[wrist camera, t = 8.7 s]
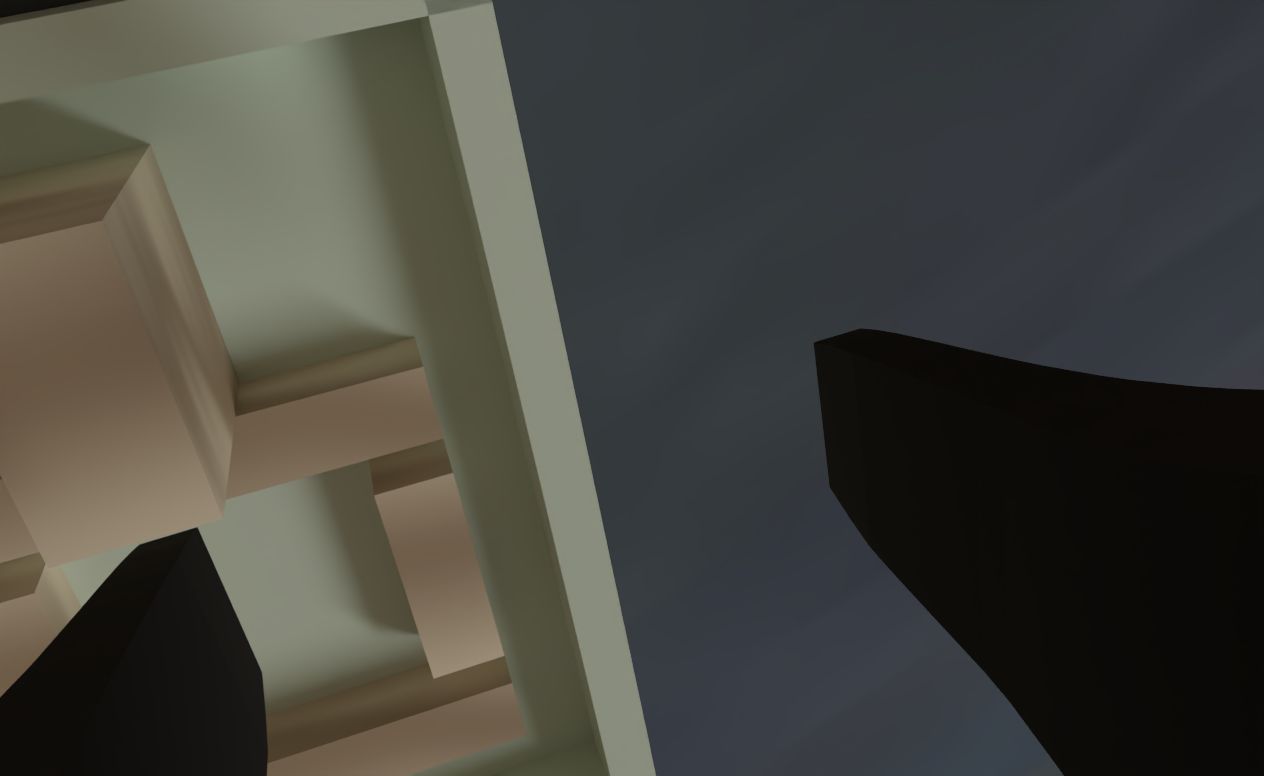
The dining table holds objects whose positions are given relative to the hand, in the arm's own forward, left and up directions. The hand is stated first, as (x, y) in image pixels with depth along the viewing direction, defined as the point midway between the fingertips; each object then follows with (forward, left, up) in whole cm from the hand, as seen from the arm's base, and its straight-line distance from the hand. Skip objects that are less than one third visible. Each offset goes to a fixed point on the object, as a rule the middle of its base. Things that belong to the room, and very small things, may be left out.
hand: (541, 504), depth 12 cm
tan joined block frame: (-3, +5, -9) cm, 11 cm away
